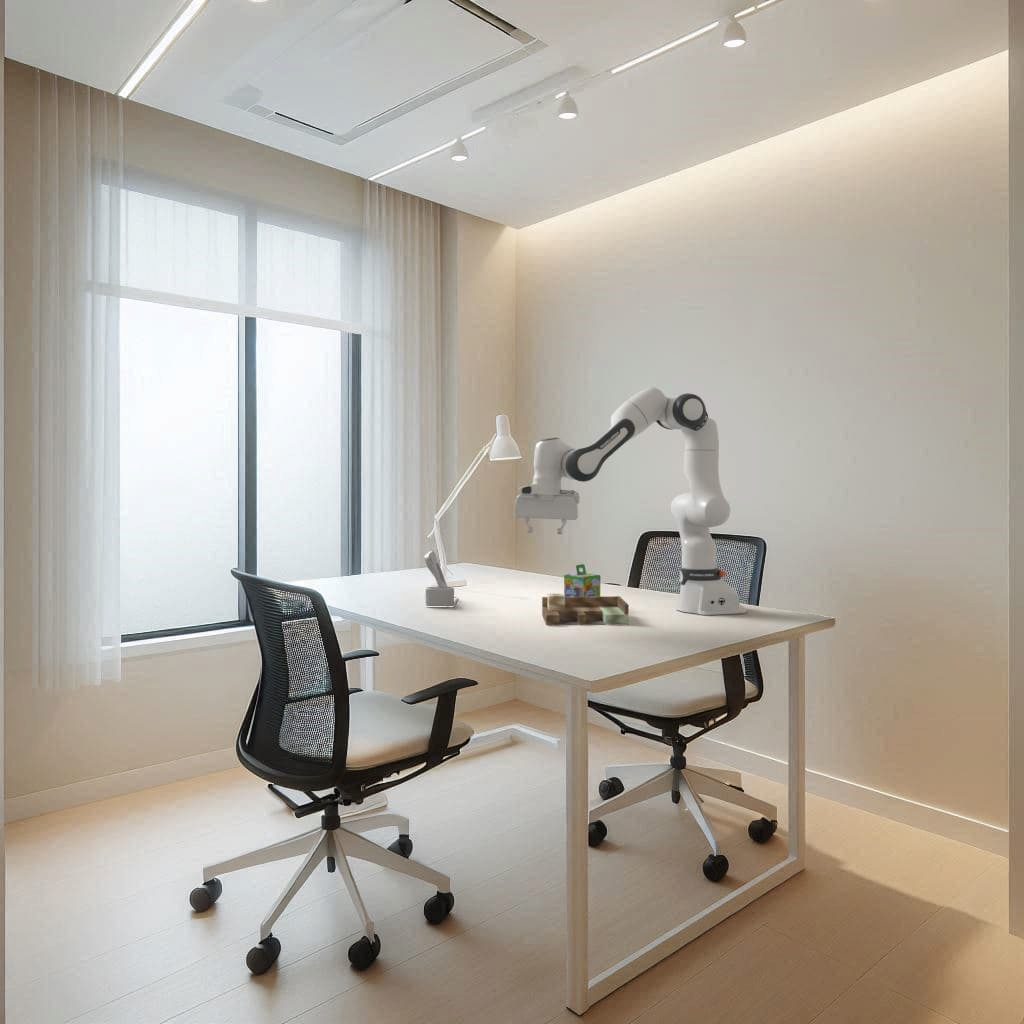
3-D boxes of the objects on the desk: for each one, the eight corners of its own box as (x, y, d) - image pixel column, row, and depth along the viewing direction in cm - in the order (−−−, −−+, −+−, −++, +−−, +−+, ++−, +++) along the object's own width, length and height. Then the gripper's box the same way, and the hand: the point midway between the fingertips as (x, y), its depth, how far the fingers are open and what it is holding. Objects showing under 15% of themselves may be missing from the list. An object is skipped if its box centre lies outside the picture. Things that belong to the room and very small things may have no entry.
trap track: (619, 614, 249) (619, 596, 249) (628, 624, 234) (628, 604, 234) (542, 615, 248) (542, 597, 248) (546, 625, 233) (546, 605, 233)
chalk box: (584, 612, 254) (584, 567, 253) (563, 608, 260) (563, 565, 259) (601, 608, 260) (601, 564, 260) (580, 605, 267) (580, 562, 266)
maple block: (563, 607, 246) (563, 593, 245) (564, 610, 241) (564, 596, 240) (547, 607, 246) (547, 593, 245) (548, 610, 241) (548, 596, 240)
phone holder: (453, 607, 262) (453, 555, 261) (424, 607, 262) (423, 555, 261) (458, 598, 280) (458, 549, 278) (430, 598, 280) (430, 549, 279)
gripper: (580, 490, 244) (579, 534, 245) (517, 488, 248) (515, 530, 249) (578, 490, 238) (576, 535, 239) (513, 488, 242) (512, 532, 243)
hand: (545, 533), depth 244 cm, fingers open, 8 cm apart
